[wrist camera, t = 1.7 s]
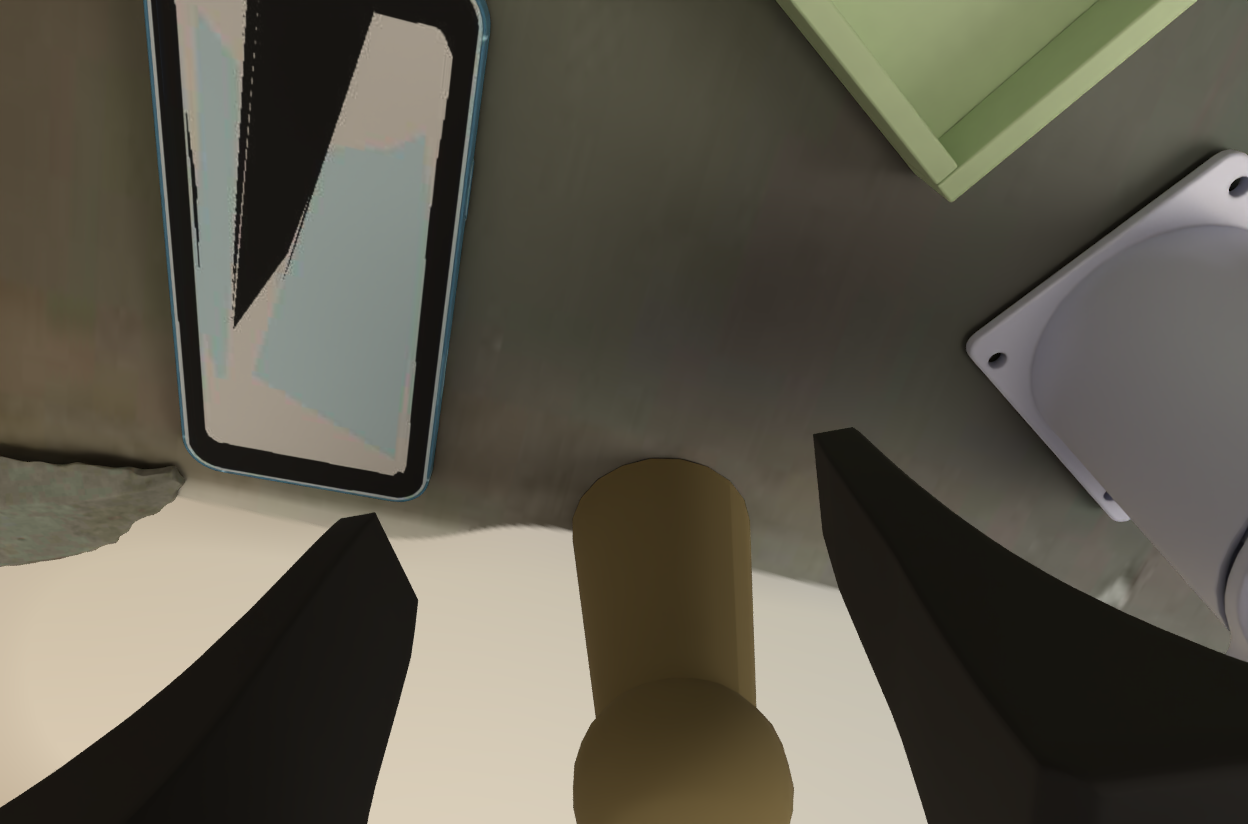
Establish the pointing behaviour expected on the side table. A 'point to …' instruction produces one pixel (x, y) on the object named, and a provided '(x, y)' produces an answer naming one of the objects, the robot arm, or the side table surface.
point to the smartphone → (315, 228)
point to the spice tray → (972, 69)
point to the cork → (672, 655)
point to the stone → (74, 506)
